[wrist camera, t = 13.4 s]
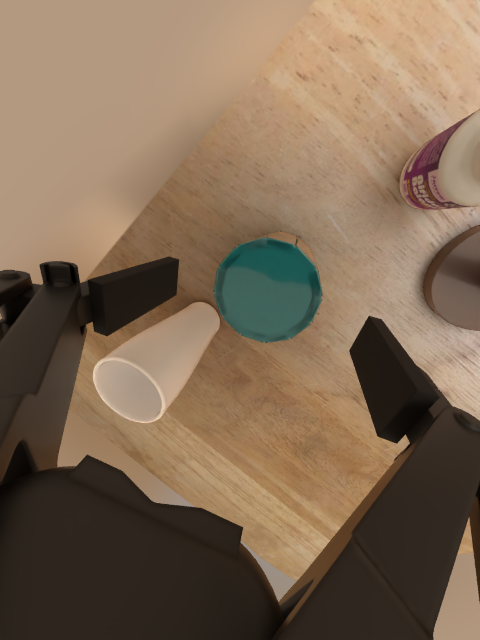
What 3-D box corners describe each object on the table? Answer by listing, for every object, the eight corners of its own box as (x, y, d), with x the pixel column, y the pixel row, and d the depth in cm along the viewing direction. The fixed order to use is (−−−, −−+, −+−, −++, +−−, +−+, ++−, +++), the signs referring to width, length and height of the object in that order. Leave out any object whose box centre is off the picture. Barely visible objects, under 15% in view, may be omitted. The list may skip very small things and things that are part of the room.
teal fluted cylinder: (253, 224, 24) (224, 225, 15) (326, 242, 23) (340, 256, 14) (238, 291, 27) (207, 324, 19) (299, 310, 26) (298, 354, 18)
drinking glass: (172, 313, 31) (78, 380, 18) (202, 285, 28) (114, 340, 15) (204, 347, 32) (136, 434, 19) (236, 323, 29) (181, 407, 16)
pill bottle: (383, 196, 20) (443, 178, 11) (427, 125, 17) (546, 34, 9) (439, 220, 20) (543, 219, 11) (492, 151, 17) (680, 82, 9)
